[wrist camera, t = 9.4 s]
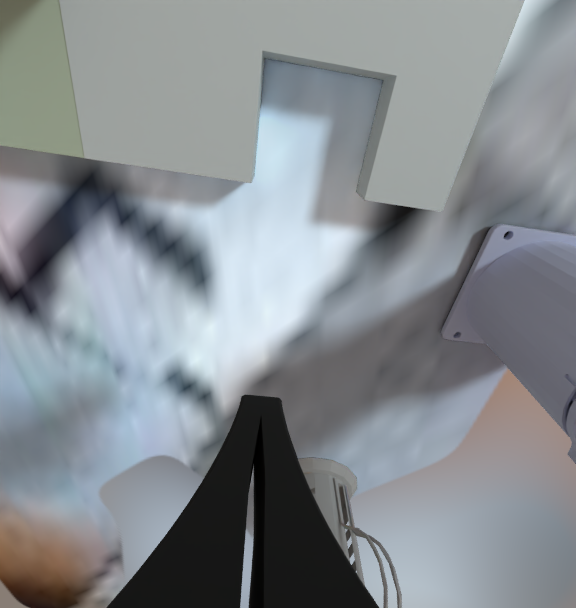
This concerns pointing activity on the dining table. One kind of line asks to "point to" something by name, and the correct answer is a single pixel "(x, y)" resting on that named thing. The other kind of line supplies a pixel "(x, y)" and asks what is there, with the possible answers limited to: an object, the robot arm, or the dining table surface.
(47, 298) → the dining table surface
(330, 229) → the dining table surface
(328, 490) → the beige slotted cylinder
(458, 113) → the plate
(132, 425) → the dining table surface
